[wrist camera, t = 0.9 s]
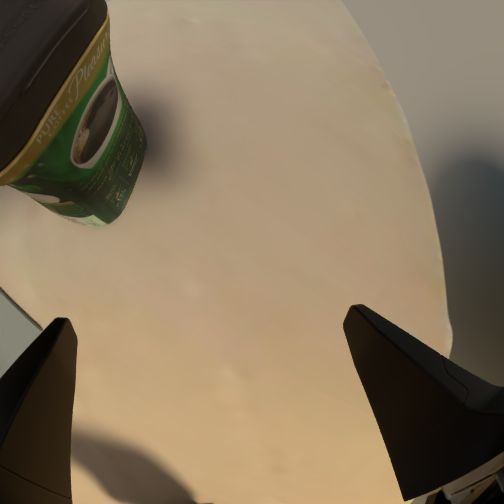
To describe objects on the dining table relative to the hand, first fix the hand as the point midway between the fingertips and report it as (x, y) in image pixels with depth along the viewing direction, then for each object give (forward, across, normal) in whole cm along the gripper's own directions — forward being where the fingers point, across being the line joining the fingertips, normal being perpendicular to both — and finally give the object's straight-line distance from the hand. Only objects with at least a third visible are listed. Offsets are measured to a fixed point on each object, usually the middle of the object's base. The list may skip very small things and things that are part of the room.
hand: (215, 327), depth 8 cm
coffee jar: (+18, +8, 0) cm, 20 cm away
